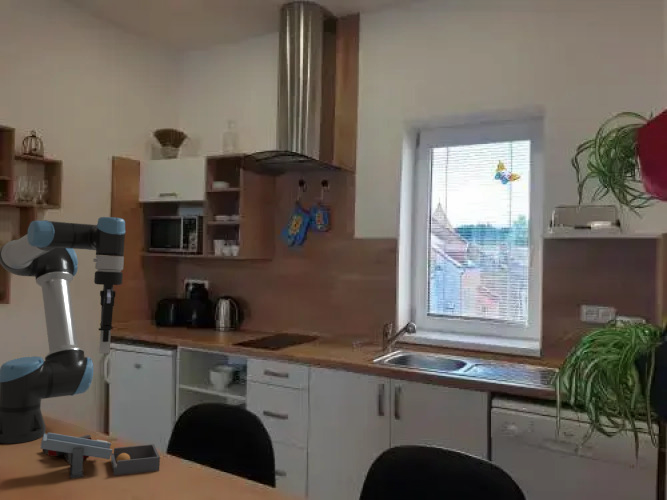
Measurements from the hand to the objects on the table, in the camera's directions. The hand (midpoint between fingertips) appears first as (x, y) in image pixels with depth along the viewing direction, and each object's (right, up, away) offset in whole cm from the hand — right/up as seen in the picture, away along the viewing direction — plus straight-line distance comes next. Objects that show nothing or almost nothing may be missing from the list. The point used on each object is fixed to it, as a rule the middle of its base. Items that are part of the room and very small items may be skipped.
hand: (104, 352), depth 161 cm
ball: (+10, -27, -11) cm, 31 cm away
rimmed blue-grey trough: (-2, -22, -13) cm, 26 cm away
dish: (+12, -29, -10) cm, 33 cm away
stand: (-1, -28, -16) cm, 32 cm away
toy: (-9, -28, -5) cm, 30 cm away
